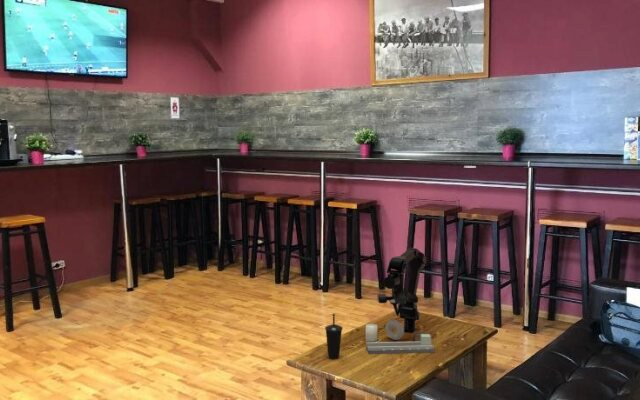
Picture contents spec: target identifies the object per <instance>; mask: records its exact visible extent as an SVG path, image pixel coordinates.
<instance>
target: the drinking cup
mask: <svg viewBox="0 0 640 400" xmlns="http://www.w3.org/2000/svg"><path fill="white" fill-rule="evenodd" d="M335 315H336V314H335V313H332V324H331V323H330V324H329V325H326V326H324V327H325V328H324V329H325V336H326V346H327V357H328V359H329V360H337V359H339V358H340V352H341V343H342V341H341V340H342V331H343V327H342V326H341V325H339V324H335V323H336V322H335V321H336V320H335Z"/></svg>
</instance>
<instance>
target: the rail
mask: <svg viewBox="0 0 640 400" xmlns="http://www.w3.org/2000/svg"><path fill="white" fill-rule="evenodd" d="M365 348H366V351H367V353H368V355H378V354H382V355H383V354H419V353H420V354H422V353H423V354H424V353H425V354H427V353H435V348H434V344H433V345H432V344H431V345H422V346H421V345H420V341H416V342H415V341H383V342H381V341H379V342H377V341H375V342H366V344H365Z"/></svg>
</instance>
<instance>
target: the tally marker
mask: <svg viewBox="0 0 640 400" xmlns="http://www.w3.org/2000/svg"><path fill="white" fill-rule="evenodd" d="M420 345H421V346H422V345H432V335H431V334H429V333H426V334H421V341H420Z"/></svg>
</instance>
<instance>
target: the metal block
mask: <svg viewBox="0 0 640 400" xmlns="http://www.w3.org/2000/svg"><path fill="white" fill-rule="evenodd" d="M421 334H427V333H426V332H425V330H424V331H423V330H421V331H419V330H417V331H414V332H413V340H414V342H416V341H421Z"/></svg>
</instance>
